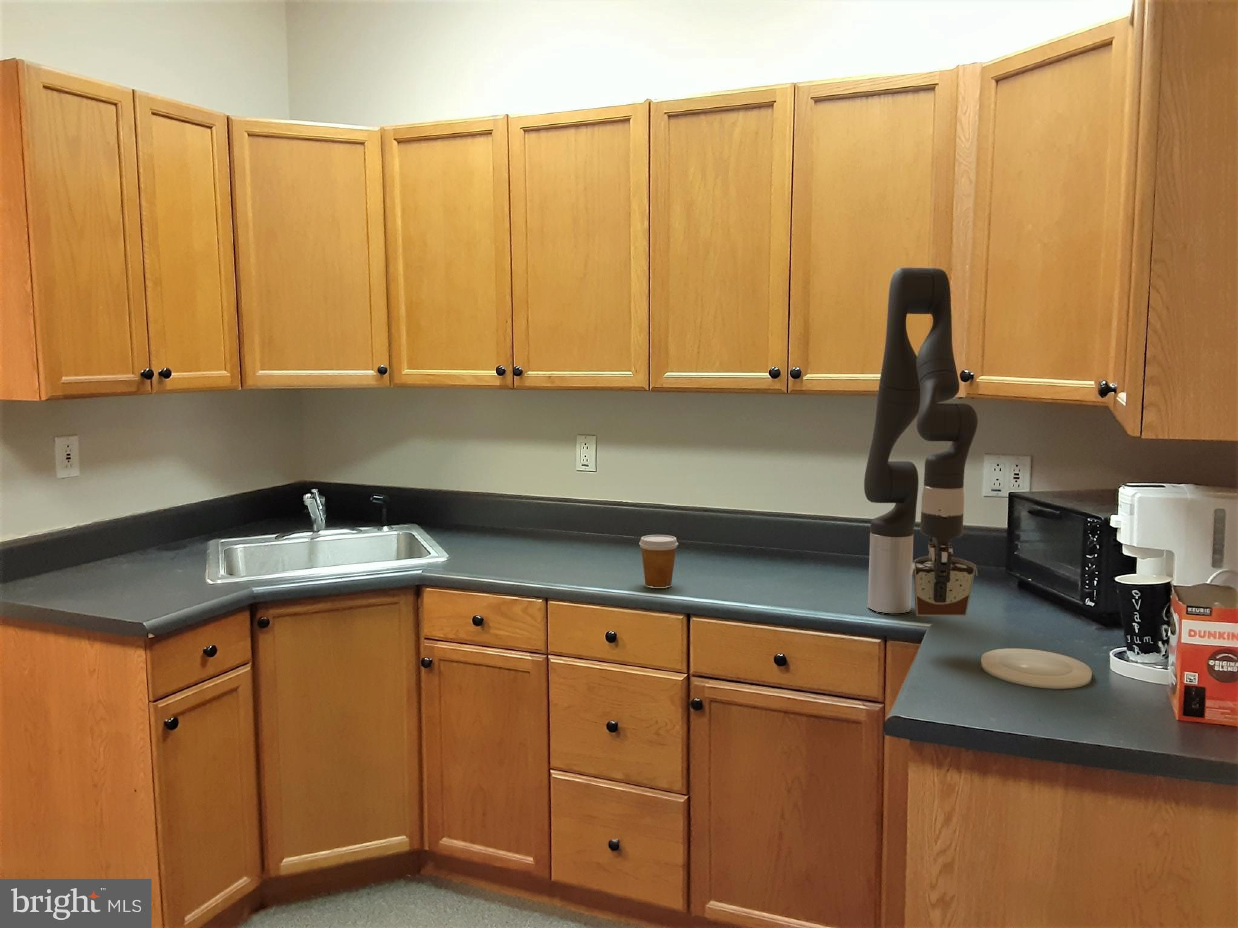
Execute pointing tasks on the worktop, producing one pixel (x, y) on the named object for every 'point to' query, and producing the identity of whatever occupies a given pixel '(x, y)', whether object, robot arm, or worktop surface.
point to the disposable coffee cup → (658, 559)
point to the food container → (956, 588)
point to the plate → (1036, 668)
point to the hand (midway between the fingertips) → (937, 597)
